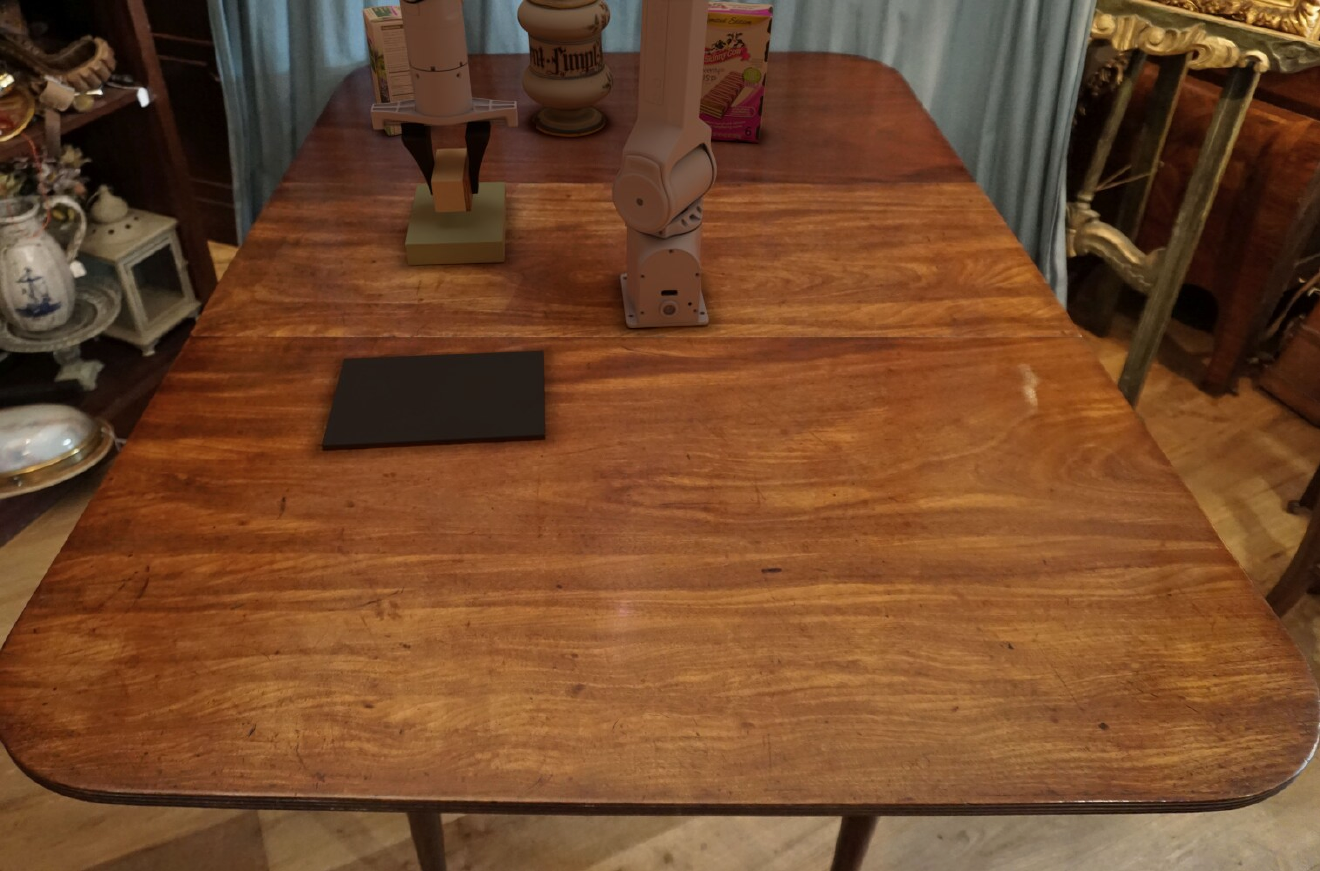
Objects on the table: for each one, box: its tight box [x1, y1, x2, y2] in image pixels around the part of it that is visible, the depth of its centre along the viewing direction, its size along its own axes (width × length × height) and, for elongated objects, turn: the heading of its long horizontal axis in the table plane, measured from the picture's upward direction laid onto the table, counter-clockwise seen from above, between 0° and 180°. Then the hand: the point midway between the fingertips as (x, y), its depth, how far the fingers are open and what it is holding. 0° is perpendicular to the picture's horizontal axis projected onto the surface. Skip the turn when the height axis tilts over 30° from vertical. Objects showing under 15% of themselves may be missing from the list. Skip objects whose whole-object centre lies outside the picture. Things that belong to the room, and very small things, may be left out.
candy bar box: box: [699, 0, 774, 143], centre depth 120 cm, size 11×5×16 cm, turn 84°
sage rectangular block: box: [404, 181, 508, 266], centre depth 103 cm, size 14×10×2 cm
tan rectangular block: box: [431, 147, 473, 212], centre depth 100 cm, size 8×4×4 cm, turn 6°
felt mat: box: [321, 350, 546, 451], centre depth 81 cm, size 12×18×1 cm, turn 96°
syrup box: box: [362, 4, 414, 136], centre depth 121 cm, size 6×6×14 cm
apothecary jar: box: [516, 0, 614, 138], centre depth 122 cm, size 12×12×18 cm
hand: (455, 190), depth 101 cm, fingers closed on tan rectangular block, 4 cm apart
